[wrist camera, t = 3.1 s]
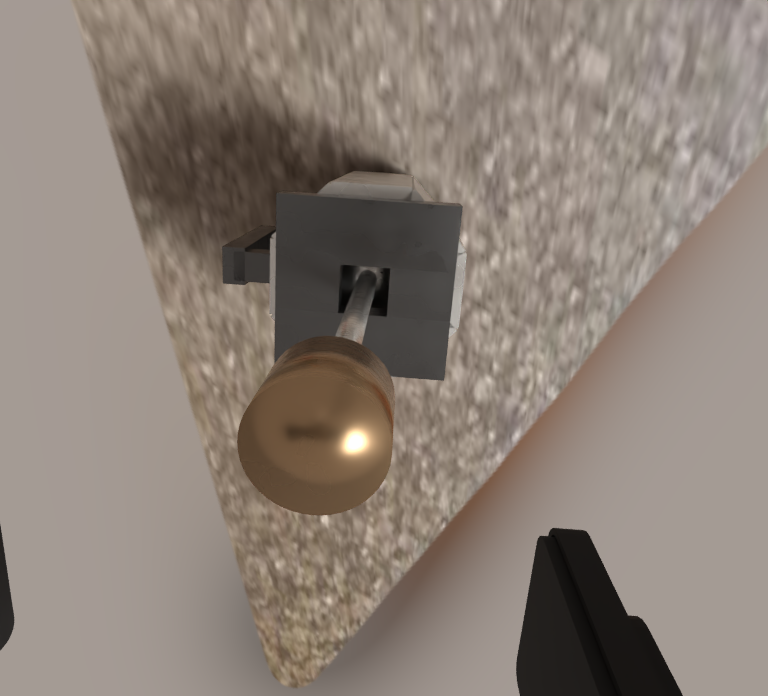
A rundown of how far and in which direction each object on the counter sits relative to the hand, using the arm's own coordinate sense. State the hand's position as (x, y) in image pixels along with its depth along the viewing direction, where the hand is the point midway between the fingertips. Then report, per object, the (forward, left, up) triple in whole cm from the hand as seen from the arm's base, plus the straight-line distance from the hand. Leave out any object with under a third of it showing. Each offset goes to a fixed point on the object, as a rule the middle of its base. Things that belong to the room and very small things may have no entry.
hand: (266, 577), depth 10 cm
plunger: (0, 0, -23) cm, 24 cm away
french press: (+1, 0, -36) cm, 36 cm away
